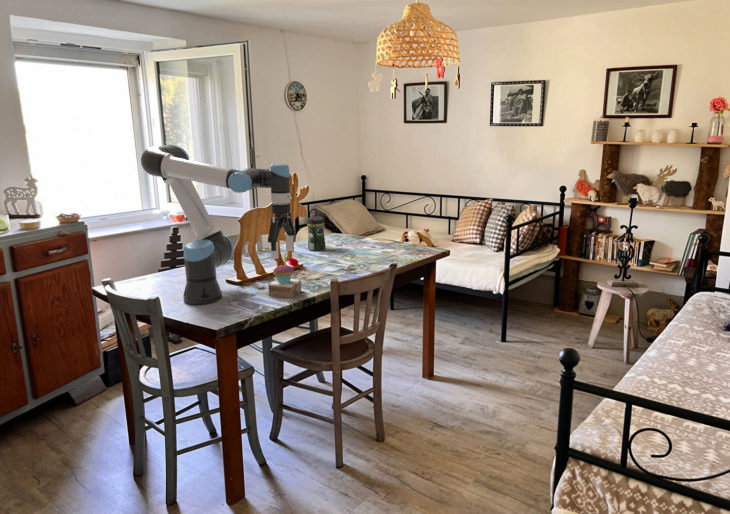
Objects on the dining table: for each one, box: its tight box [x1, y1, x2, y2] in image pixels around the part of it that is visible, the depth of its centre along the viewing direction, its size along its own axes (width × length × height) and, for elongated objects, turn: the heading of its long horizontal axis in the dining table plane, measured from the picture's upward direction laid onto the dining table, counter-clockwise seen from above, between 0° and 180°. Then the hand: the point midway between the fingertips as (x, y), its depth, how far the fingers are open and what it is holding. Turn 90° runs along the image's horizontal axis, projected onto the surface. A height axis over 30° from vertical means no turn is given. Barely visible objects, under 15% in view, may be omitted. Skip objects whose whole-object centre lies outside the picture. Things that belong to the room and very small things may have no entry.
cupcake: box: [272, 252, 295, 283], centre depth 224 cm, size 9×8×12 cm
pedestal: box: [267, 278, 302, 299], centre depth 227 cm, size 10×10×5 cm
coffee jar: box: [306, 216, 327, 252], centre depth 303 cm, size 10×8×19 cm
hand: (282, 254), depth 224 cm, fingers open, 13 cm apart
